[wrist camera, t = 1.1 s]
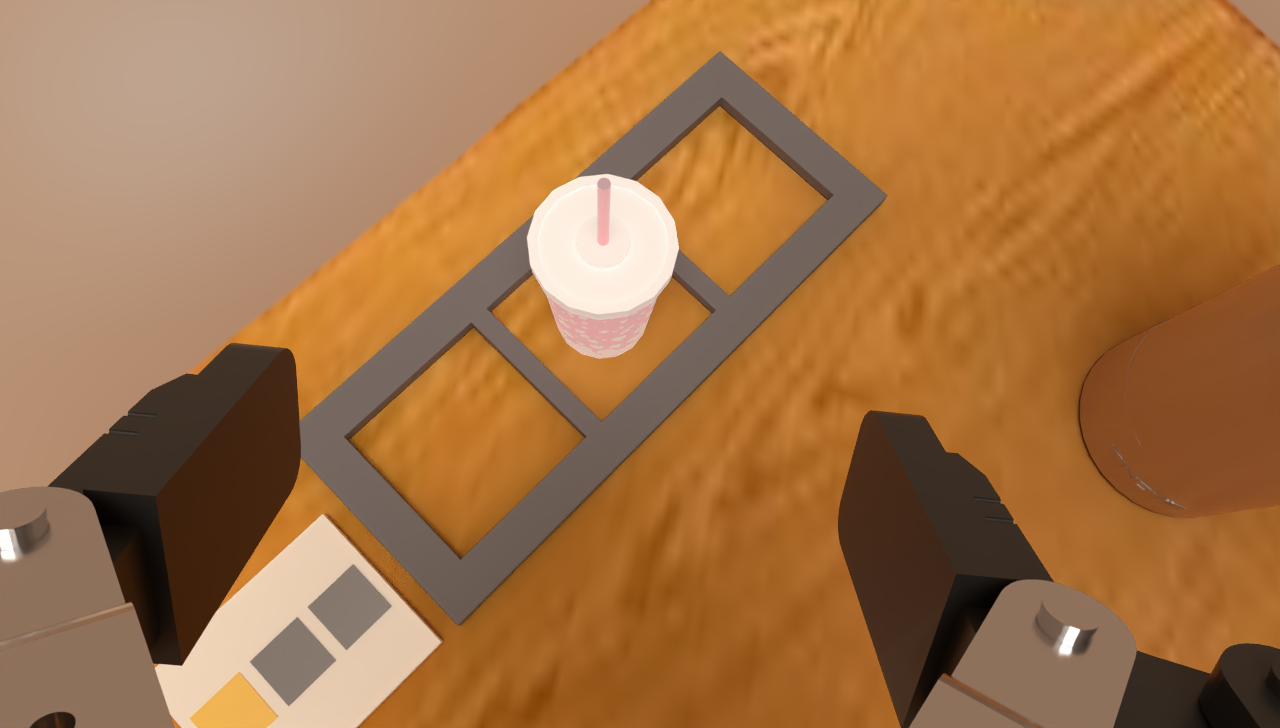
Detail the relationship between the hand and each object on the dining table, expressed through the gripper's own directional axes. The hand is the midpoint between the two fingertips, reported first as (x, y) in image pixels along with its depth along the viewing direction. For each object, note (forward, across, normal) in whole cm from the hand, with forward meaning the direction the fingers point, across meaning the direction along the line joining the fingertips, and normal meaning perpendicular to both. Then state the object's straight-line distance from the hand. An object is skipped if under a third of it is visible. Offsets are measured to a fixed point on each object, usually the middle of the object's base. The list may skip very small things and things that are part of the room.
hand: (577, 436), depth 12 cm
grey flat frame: (+30, 0, +11) cm, 31 cm away
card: (+18, +12, +24) cm, 32 cm away
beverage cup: (+30, 0, +11) cm, 32 cm away
